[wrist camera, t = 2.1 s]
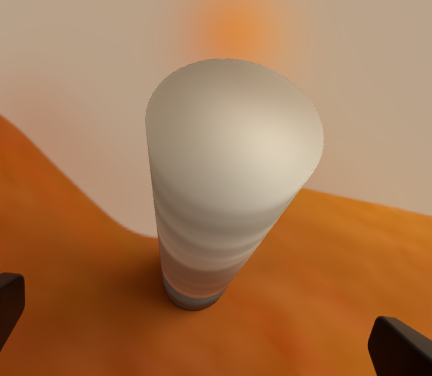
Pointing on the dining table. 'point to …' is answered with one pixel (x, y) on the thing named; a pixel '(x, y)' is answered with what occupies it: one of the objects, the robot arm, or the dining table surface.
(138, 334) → the dining table surface
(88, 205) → the dining table surface
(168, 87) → the white upright cylinder
